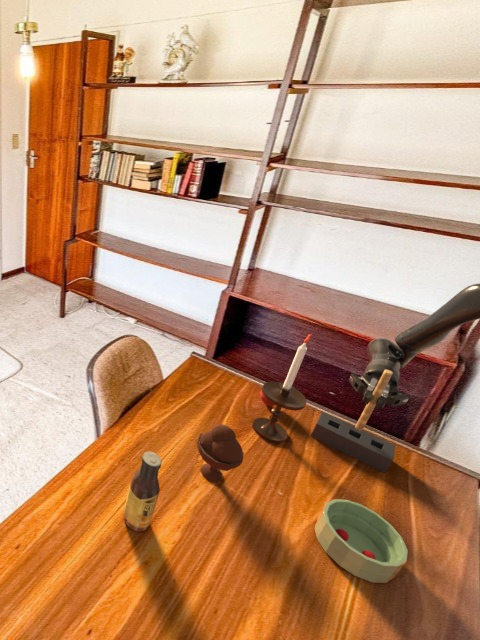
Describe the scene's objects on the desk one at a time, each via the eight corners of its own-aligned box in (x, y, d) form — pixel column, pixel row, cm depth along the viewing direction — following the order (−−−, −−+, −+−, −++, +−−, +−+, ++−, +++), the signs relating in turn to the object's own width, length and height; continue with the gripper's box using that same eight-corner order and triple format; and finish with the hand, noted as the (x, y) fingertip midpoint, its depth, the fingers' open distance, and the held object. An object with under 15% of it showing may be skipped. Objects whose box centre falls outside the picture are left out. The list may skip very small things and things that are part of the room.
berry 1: (347, 538, 90) (351, 532, 89) (345, 546, 88) (349, 539, 87) (334, 530, 91) (338, 524, 90) (332, 538, 90) (336, 531, 89)
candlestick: (280, 420, 123) (320, 324, 108) (296, 447, 113) (343, 347, 98) (243, 415, 124) (278, 320, 109) (256, 442, 115) (296, 342, 100)
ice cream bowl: (180, 462, 107) (193, 421, 101) (212, 452, 111) (226, 411, 105) (210, 496, 98) (225, 454, 92) (243, 483, 102) (260, 442, 96)
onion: (272, 399, 132) (279, 380, 128) (280, 412, 126) (288, 392, 123) (254, 397, 132) (261, 379, 129) (261, 410, 127) (269, 390, 123)
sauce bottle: (141, 539, 88) (157, 478, 80) (117, 519, 92) (130, 460, 84) (155, 519, 93) (172, 459, 84) (131, 501, 97) (145, 443, 88)
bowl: (397, 549, 88) (410, 531, 86) (389, 601, 79) (404, 582, 76) (321, 505, 98) (331, 487, 95) (307, 546, 88) (317, 528, 85)
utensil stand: (388, 457, 111) (396, 445, 109) (384, 473, 107) (392, 460, 105) (316, 423, 123) (322, 411, 120) (310, 436, 118) (316, 423, 116)
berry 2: (373, 560, 86) (378, 553, 84) (372, 568, 84) (377, 562, 83) (360, 552, 87) (364, 545, 86) (358, 560, 86) (362, 553, 84)
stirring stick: (362, 428, 111) (393, 371, 103) (361, 431, 110) (392, 374, 102) (355, 425, 112) (385, 368, 104) (354, 428, 111) (384, 371, 103)
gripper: (357, 354, 119) (347, 379, 108) (418, 376, 110) (413, 406, 99) (348, 374, 122) (336, 401, 111) (406, 397, 113) (400, 428, 102)
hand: (373, 403), depth 105 cm, fingers closed on stirring stick, 1 cm apart
